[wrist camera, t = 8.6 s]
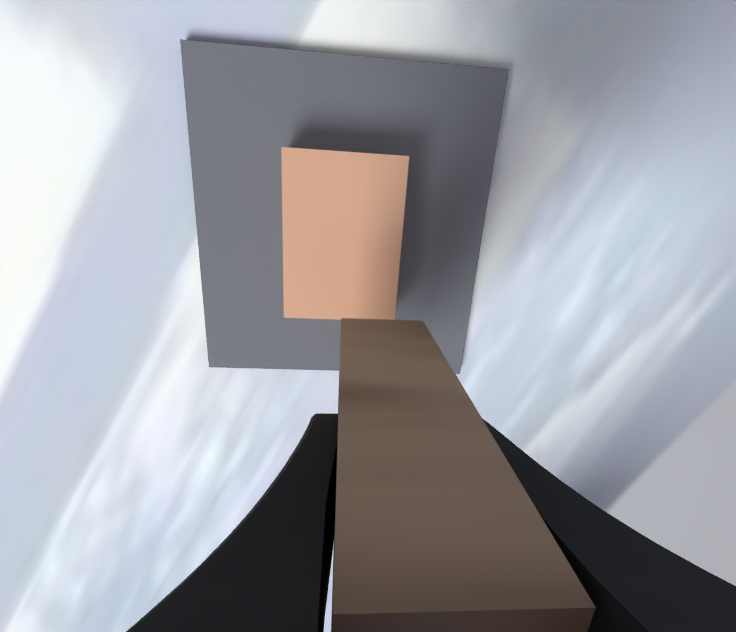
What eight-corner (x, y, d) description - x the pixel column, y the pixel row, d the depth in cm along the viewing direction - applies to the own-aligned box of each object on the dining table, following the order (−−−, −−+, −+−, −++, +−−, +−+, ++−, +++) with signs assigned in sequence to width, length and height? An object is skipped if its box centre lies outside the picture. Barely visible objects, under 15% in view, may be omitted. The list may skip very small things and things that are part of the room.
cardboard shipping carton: (410, 436, 15) (517, 832, 6) (337, 435, 15) (324, 846, 6) (422, 320, 14) (595, 608, 4) (341, 317, 14) (333, 613, 4)
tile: (394, 321, 17) (409, 156, 15) (283, 317, 17) (281, 147, 14) (390, 310, 19) (403, 158, 16) (288, 307, 18) (287, 150, 16)
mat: (457, 370, 20) (459, 373, 20) (211, 363, 19) (209, 367, 19) (504, 72, 16) (508, 69, 15) (184, 42, 15) (180, 39, 14)
